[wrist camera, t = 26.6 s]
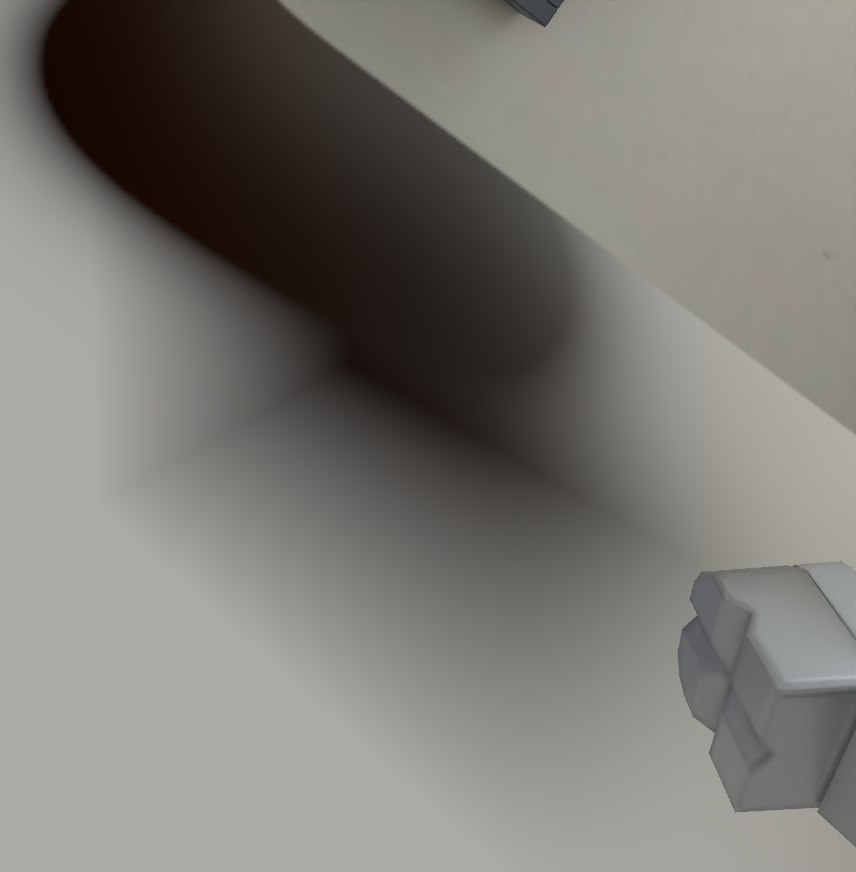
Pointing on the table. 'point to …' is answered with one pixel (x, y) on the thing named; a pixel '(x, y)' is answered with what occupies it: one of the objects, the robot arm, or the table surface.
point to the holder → (536, 9)
